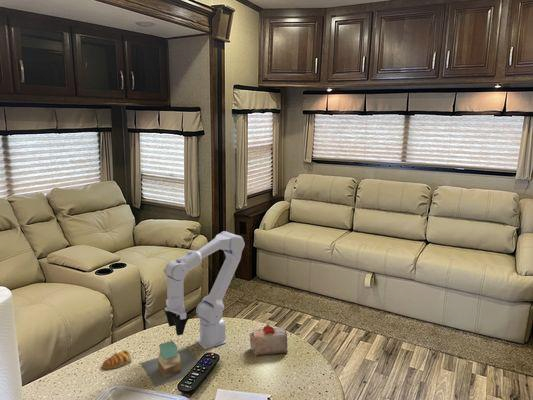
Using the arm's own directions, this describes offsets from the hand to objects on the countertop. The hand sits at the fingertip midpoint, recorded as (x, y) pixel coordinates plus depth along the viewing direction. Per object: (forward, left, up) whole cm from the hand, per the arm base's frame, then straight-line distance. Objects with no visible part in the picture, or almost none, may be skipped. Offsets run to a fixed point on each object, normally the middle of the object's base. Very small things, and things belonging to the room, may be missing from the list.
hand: (176, 330), depth 147 cm
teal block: (+6, +8, -4) cm, 11 cm away
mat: (+4, +6, -10) cm, 12 cm away
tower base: (+6, +8, -10) cm, 14 cm away
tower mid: (+6, +8, -7) cm, 12 cm away
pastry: (+19, -6, -11) cm, 23 cm away
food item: (-30, +15, -11) cm, 36 cm away
